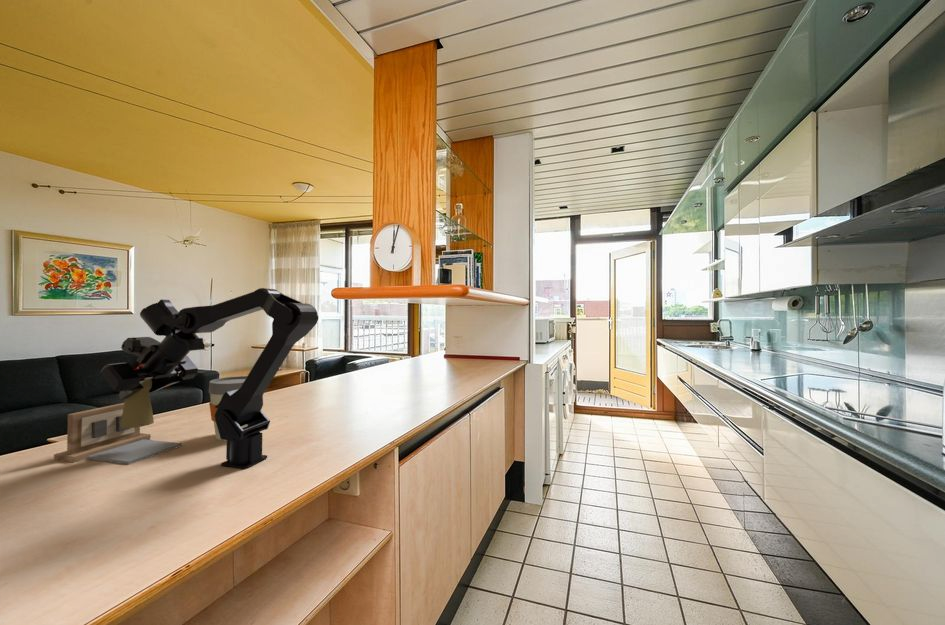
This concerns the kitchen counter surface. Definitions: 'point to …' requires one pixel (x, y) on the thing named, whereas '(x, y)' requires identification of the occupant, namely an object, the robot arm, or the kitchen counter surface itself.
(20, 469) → the kitchen counter surface
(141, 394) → the cork
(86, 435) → the switch panel
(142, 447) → the mat
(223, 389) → the reusable coffee cup
